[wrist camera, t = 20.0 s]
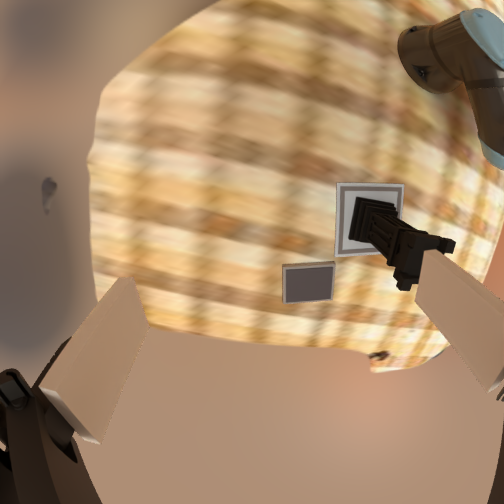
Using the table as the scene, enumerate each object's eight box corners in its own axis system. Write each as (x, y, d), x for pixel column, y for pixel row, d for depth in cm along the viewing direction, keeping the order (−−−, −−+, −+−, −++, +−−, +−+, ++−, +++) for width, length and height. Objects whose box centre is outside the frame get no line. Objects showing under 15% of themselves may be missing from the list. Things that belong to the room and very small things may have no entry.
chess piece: (347, 238, 48) (396, 293, 30) (355, 196, 45) (415, 232, 27) (383, 242, 49) (440, 294, 30) (392, 203, 46) (458, 239, 27)
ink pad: (282, 264, 51) (283, 268, 49) (333, 261, 50) (336, 264, 49) (282, 300, 54) (283, 304, 52) (330, 296, 54) (332, 300, 52)
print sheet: (336, 182, 45) (337, 183, 44) (403, 184, 44) (404, 184, 44) (334, 256, 50) (334, 257, 50) (396, 252, 50) (397, 253, 49)
